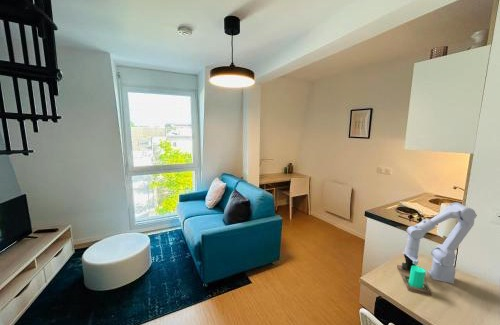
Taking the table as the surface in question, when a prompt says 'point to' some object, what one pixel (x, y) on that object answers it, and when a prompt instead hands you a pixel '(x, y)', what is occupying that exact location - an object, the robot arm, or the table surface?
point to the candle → (417, 277)
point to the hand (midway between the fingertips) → (409, 268)
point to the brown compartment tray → (406, 275)
